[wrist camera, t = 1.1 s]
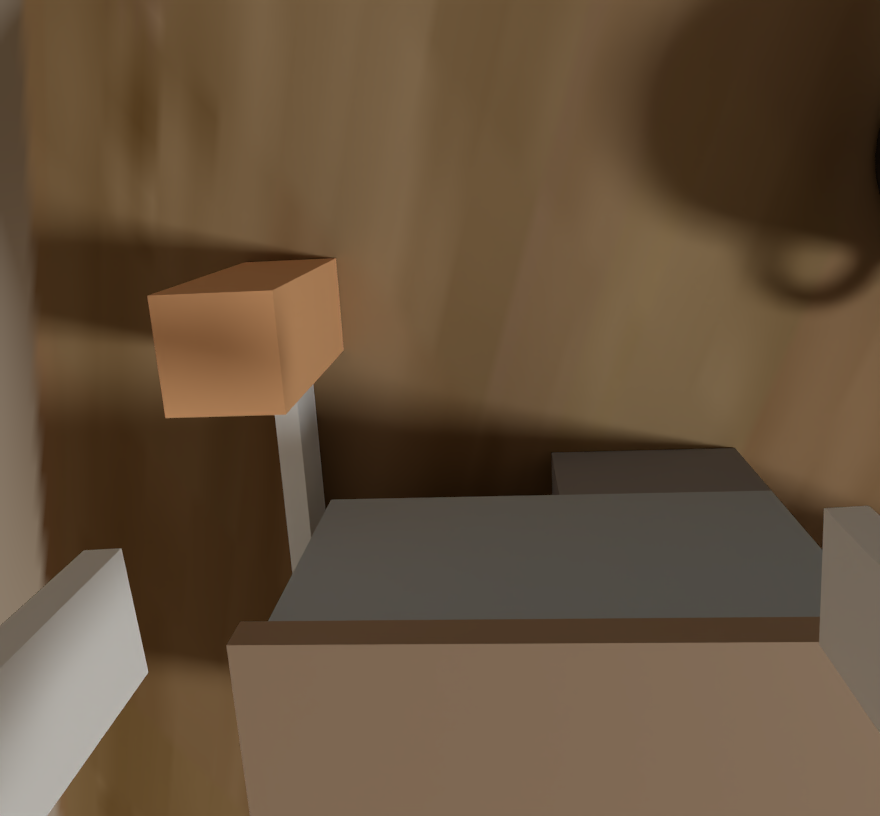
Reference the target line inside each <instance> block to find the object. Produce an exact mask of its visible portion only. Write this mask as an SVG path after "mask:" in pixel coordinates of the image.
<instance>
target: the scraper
mask: <svg viewBox="0 0 880 816" xmlns="http://www.w3.org/2000/svg"><path fill="white" fill-rule="evenodd" d="M147 298H148V304H149V311H150V318H151V324H152V331H153V338H154V344H155V351H156V358H157V364H158V371H159V378H160V385H161V391H162V398H163V405H164V411H165V418H187V417H222V416H257V415H275V422H276V431H277V440H278V449H279V458H280V467H281V476H282V485H283V494H284V503H285V512H286V521H287V530H288V539H289V548H290V557H291V566H292V574H293V572H294V570H295V568H296V566H297V564H298V562H299V560H300V559H301V557H302V555H303V553H304V551H305V549H306V547H307V545H308V543H309V541H310V539H311V537H312V535H313V533H314V532H315V530H316V528H317V526H318V524H319V522H320V520H321V518H322V516H323V514H324V512H325V510H326V509H325V499H324V488H323V478H322V468H321V457H320V447H319V436H318V426H317V416H316V405H315V395H314V383H315V382H316V380H317V379H318V378H319V377H320V376H321V375H322V374H323V373H324V372H325V370H326V369H327V368H328V367H329V366H330V365H331V364H332V363H333V362H334V360H335V359H336V358H337V357H338V356H339V355H340V354H341V353H342V352H343V350H344V346H343V335H342V323H341V311H340V299H339V287H338V276H337V264H336V258H328V259H306V260H283V261H261V262H244V263H241V264H238V265H235V266H232V267H229V268H226V269H223V270H220V271H217V272H215V273H212V274H209V275H206V276H203V277H200V278H197V279H194V280H191V281H188V282H185V283H183V284H180V285H177V286H174V287H171V288H168V289H165V290H162V291H159V292H156V293H153V294H150V295H148V296H147Z"/></svg>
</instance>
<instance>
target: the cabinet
mask: <svg viewBox="0 0 880 816" xmlns="http://www.w3.org/2000/svg"><path fill="white" fill-rule="evenodd" d="M551 455H552V495H530V496H481V497H433V498H384V499H335V500H331V501H330V503H329V504H328V506H327V508H326V510H325V512H324V514H323V516H322V518H321V520H320V522H319V524H318V526H317V528H316V530H315V532H314V533H313V535H312V537H311V539H310V541H309V543H308V545H307V547H306V549H305V551H304V553H303V555H302V557H301V559H300V560H299V562H298V564H297V566H296V568H295V570H294V572H293V574H292V576H291V578H290V580H289V582H288V584H287V586H286V587H285V589H284V591H283V593H282V595H281V597H280V599H279V601H278V603H277V605H276V607H275V609H274V611H273V613H272V614H271V616H270V618H269V620H268V621H240V623H239V624H238V626H237V628H236V629H235V631H234V633H233V635H232V636H231V638H230V640H229V642H228V643H227V645H226V647H227V654H228V661H229V669H230V676H231V683H232V690H233V697H234V704H235V712H236V719H237V726H238V733H239V740H240V748H241V755H242V762H243V769H244V776H245V783H246V791H247V798H248V805H249V812H250V816H880V733H879V731H878V730H877V728H876V727H875V725H874V724H873V723H872V721H871V720H870V718H869V717H868V715H867V714H866V712H865V711H864V709H863V708H862V706H861V705H860V703H859V702H858V701H857V699H856V698H855V696H854V695H853V693H852V692H851V690H850V689H849V687H848V686H847V684H846V683H845V681H844V680H843V679H842V677H841V676H840V674H839V673H838V671H837V670H836V668H835V667H834V665H833V664H832V662H831V661H830V659H829V658H828V657H827V655H826V654H825V652H824V651H823V649H822V648H821V646H820V645H819V632H820V604H821V577H822V549H821V548H820V547H819V546H818V544H817V543H816V542H815V541H814V540H813V539H812V537H811V536H810V535H809V534H808V533H807V532H806V530H805V529H804V528H803V527H802V526H801V525H800V523H799V522H798V521H797V520H796V519H795V518H794V516H793V515H792V514H791V513H790V512H789V511H788V509H787V508H786V507H785V506H784V505H783V504H782V502H781V501H780V500H779V499H778V498H777V497H776V495H775V494H774V493H773V492H772V491H771V490H770V488H769V487H768V486H767V485H766V484H765V483H764V481H763V480H762V479H761V478H760V477H759V476H758V474H757V473H756V472H755V471H754V470H753V469H752V467H751V466H750V465H749V464H748V463H747V462H746V460H745V459H744V458H743V457H742V456H741V455H740V453H739V452H738V451H737V450H736V449H735V448H716V449H676V450H635V451H595V452H554V453H551Z"/></svg>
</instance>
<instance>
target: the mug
mask: <svg viewBox="0 0 880 816" xmlns="http://www.w3.org/2000/svg"><path fill="white" fill-rule="evenodd" d="M875 163H876V178H877V183H878V189H879V193H880V130H879V134H878V138H877V146H876V153H875Z"/></svg>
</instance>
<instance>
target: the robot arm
mask: <svg viewBox="0 0 880 816" xmlns="http://www.w3.org/2000/svg"><path fill="white" fill-rule="evenodd" d="M819 645H820V646H821V648H822V649H823V651H824V652H825V654H826V655H827V657H828V658H829V659H830V661H831V662H832V664H833V665H834V667H835V668H836V670H837V671H838V673H839V674H840V676H841V677H842V679H843V680H844V681H845V683H846V684H847V686H848V687H849V689H850V690H851V692H852V693H853V695H854V696H855V698H856V699H857V701H858V702H859V703H860V705H861V706H862V708H863V709H864V711H865V712H866V714H867V715H868V717H869V718H870V720H871V721H872V723H873V724H874V725H875V727H876V728H877V730H878V731H879V733H880V515H878V514H877V513H876V512H875V511H874V510H873V509H872V508H871V507H870V506H855V507H838V508H824V522H823V549H822V577H821V604H820V632H819ZM147 674H148V668H147V664H146V659H145V654H144V650H143V645H142V641H141V636H140V631H139V627H138V622H137V618H136V613H135V608H134V604H133V599H132V594H131V590H130V585H129V581H128V576H127V571H126V567H125V562H124V558H123V553H122V548H117V549H99V550H84V551H83V552H81V553H80V554H79V555H78V556H77V557H76V558H75V559H74V560H73V561H71V562H70V563H69V564H68V565H67V566H66V567H65V568H64V569H63V570H62V571H60V572H59V573H58V574H57V575H56V576H55V577H54V578H53V579H52V580H50V581H49V582H48V583H47V584H46V585H45V586H44V587H43V588H42V589H40V590H39V591H38V592H37V593H36V594H35V595H34V596H33V597H32V598H31V599H29V600H28V601H27V602H26V603H25V604H24V605H23V606H22V607H21V608H20V609H18V611H16V612H15V613H14V614H13V615H12V616H11V617H9V618H8V619H7V620H6V621H5V622H4V623H3V624H2V625H1V626H0V816H47V815H48V814H49V812H50V811H51V810H52V808H53V807H54V805H55V804H56V802H57V801H58V800H59V798H60V797H61V795H62V794H63V793H64V791H65V790H66V788H67V787H68V785H69V784H70V783H71V781H72V780H73V778H74V777H75V776H76V774H77V773H78V771H79V770H80V768H81V767H82V766H83V764H84V763H85V761H86V760H87V759H88V757H89V756H90V754H91V753H92V751H93V750H94V749H95V747H96V746H97V744H98V743H99V742H100V740H101V739H102V737H103V736H104V734H105V733H106V732H107V730H108V729H109V727H110V726H111V725H112V723H113V722H114V720H115V719H116V717H117V716H118V715H119V713H120V712H121V710H122V709H123V708H124V706H125V705H126V703H127V702H128V700H129V699H130V698H131V696H132V695H133V693H134V692H135V691H136V689H137V688H138V686H139V685H140V683H141V682H142V681H143V679H144V678H145V676H146V675H147Z"/></svg>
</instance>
